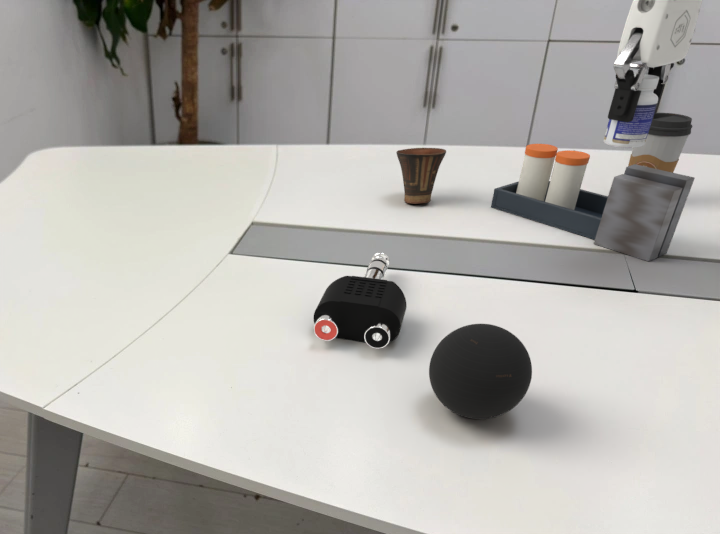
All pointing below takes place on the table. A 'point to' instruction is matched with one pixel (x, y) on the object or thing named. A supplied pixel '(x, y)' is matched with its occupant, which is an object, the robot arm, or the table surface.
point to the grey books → (643, 211)
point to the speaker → (480, 371)
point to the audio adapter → (362, 307)
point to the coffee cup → (663, 142)
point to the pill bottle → (635, 119)
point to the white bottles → (563, 176)
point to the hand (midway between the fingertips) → (631, 115)
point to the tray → (554, 210)
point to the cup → (419, 172)
